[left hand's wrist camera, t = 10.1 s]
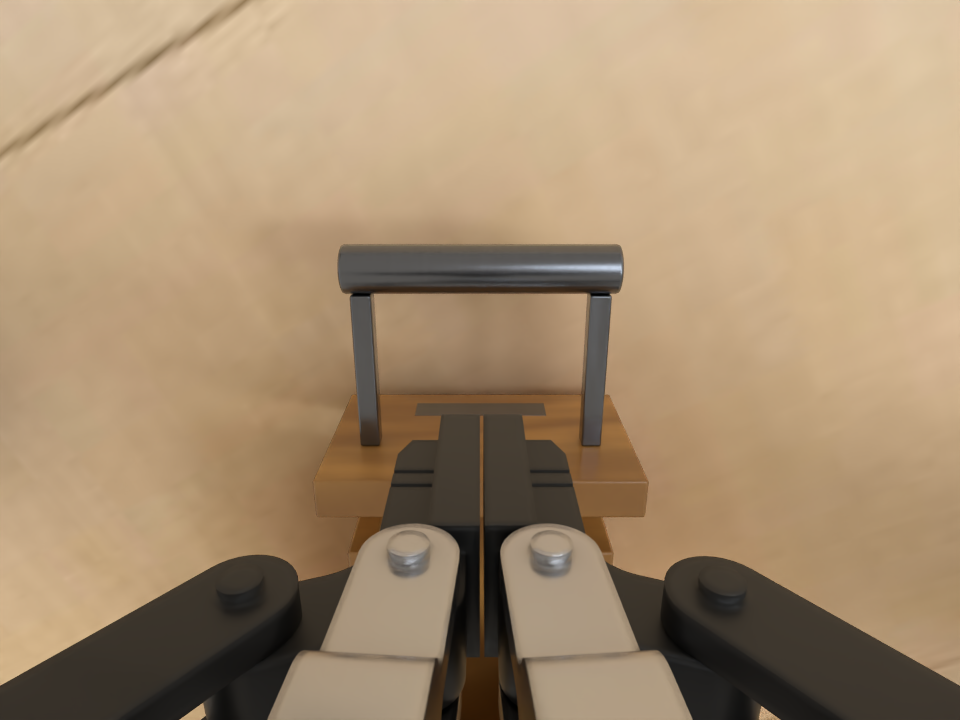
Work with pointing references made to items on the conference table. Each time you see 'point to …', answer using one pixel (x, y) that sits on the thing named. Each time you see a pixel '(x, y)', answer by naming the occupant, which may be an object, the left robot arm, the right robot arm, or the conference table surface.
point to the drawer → (480, 397)
